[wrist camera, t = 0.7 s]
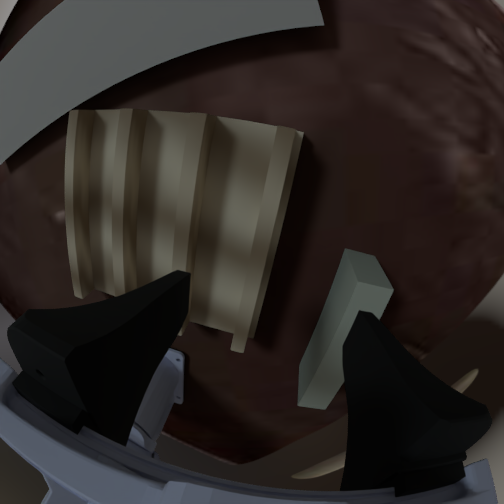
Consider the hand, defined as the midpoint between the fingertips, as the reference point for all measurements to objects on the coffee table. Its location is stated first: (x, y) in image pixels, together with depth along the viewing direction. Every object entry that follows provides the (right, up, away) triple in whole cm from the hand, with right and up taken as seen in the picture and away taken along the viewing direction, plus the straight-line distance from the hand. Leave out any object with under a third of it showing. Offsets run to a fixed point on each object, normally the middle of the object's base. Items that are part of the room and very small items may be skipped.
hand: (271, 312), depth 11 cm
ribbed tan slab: (-7, +5, +9) cm, 12 cm away
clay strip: (+6, -3, +10) cm, 12 cm away
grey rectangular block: (-14, +20, +5) cm, 25 cm away
